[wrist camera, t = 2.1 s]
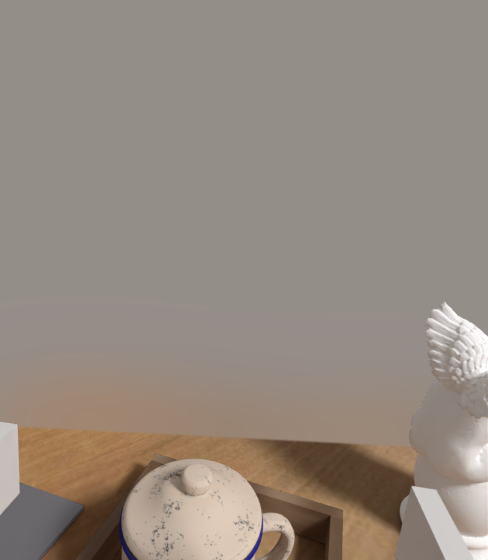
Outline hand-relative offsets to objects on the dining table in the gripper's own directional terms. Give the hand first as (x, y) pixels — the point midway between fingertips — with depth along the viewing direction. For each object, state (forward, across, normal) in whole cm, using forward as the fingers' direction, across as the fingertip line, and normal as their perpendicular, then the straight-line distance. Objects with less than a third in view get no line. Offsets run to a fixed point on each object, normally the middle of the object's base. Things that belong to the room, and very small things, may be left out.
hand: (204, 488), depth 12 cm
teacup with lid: (+10, 0, -19) cm, 22 cm away
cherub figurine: (+19, +20, -20) cm, 34 cm away
